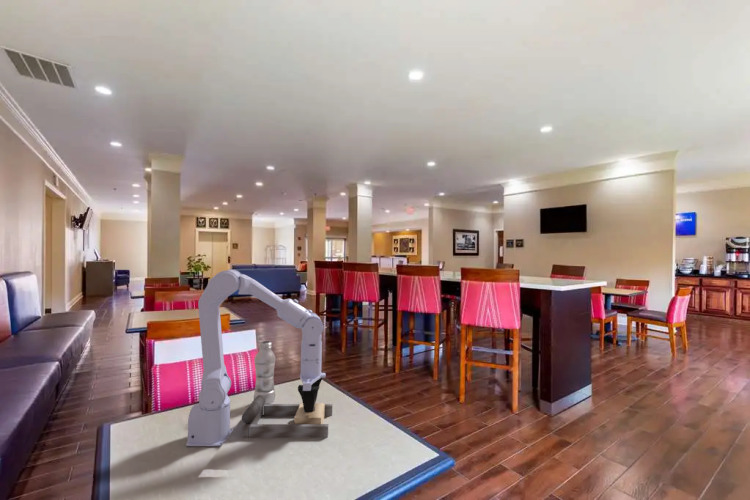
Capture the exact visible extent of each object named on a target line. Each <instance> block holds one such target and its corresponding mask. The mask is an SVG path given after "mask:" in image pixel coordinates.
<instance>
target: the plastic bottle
mask: <svg viewBox="0 0 750 500" xmlns="http://www.w3.org/2000/svg"><path fill="white" fill-rule="evenodd" d="M272 345H273V344H272V341H270V340H262V341H260V342H259V347H258V349H259V351H258V352H257V353H256V354H255V356H254V361H253V362H254V367H255V387H254V393H253V400H254V399H255V398H256V397H257V396H258V395H262V396H264V397H265V399H266V402H265V404H274V402H275V399H276V389H275V381H274V378H275V375H274V374H275V366H276V360H277V359H276V358H277V357H276V354H275V353H274V351H273V350H272V348H273V346H272ZM265 404H264V405H265ZM264 405H263V406H264Z"/></svg>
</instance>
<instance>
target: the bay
mask: <svg viewBox="0 0 750 500" xmlns="http://www.w3.org/2000/svg"><path fill="white" fill-rule="evenodd" d="M265 402H266V399H265V397H264V396H262V395H258V396H257V397H256V398H255V399H254V398H253V401H251V403H250V404H249V406H248V407H247V408H246V409H245V410H244V412H243V414H242V415H241V420H242V424H243V423H244V425H243V432H242V433H243V435H242V437H243V438H244V439H245V438H247V439H254V438H255V439H256V438H257V439H258V438H259V439H260V438H262V439H265V438H266V439H267V438H270V439H271V438H272V439H274V438H275V439H277V438H280V439H281V438H283V439H284V438H285V439H286V438H288V439H289V438H290V439H291V438H294V439H298V438H306V439H307V438H310V439H311V438H318V439H319V438H324V439H325V438H329V423H328V424H327V423H325V424H324V423H323V424H294V423H293V424H292V423H290V424H288V423H286V424H285V423H282V424H281V423H277V424H274V423H273V424H271V423H269V424H267V423H266V424H265V423H259V421H260V420H261V418H262V416H263V417H265V416H267V417H268V416H269V417H272V416H273V417H282V416H283V417H287V416H288V417H293V416H294V417H295V415H296V413H297V410H298V408H299V406H300V403H296V404H295V403H288V404H287V403H283V404H282V403H270V404H265ZM264 404H265V405H264ZM328 416H329V417H330V416H332V417H333V404H332V403H327V404H326V403H325V411H324V417H328ZM258 423H259V424H258Z"/></svg>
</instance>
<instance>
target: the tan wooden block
mask: <svg viewBox="0 0 750 500" xmlns="http://www.w3.org/2000/svg"><path fill="white" fill-rule="evenodd" d="M299 404H300V406H299V408H298V410H297V413H296V415H295V416H294V420H293V422H294V423H293V424H324V421H325V416H324V411H325V404H326V403H323V402H321V403H316V402H315V403H314V408H313V412H305V411H304V407H303V402H302V403H299Z"/></svg>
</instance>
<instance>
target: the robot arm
mask: <svg viewBox="0 0 750 500" xmlns="http://www.w3.org/2000/svg"><path fill="white" fill-rule="evenodd" d="M237 291H238V292H237ZM236 292H237V294H238V295H250V296H252V297H254V298H256V299H258V300H260V301H261V302H262V303H265V304H267V305H268V306H270V307H271V308H273V309H275V310H276V313H277V314H276V315H277V317H278V318H280V319H281V320H282V321H285V322H286V323H287V324H289V325H291V326H292V327H294V328H295V329H300V330H301V333H302V335H301V336H302V337H301V338H302V340H301V342H300V372H299V379H300V380H301V382H302V384H299V385H298V387H297V391H298V393H299V396H300V398H301V400H302V403H303V407H304V411H305V412H313V408H314V403H316V402H317V398H318V392H319V390H320V384H321V382H322V380H323V379H324V378H326V372H322V364H323V363H322V359H323V355H322V354H323V341H322V337H323V335H322V334H323V332H324V329H325V327H324V324H323V321H322V320H321V317H320V316H319V315H318V314H317V313H315V312H313V310H311V309H307V308H305V307H304V306H302V305H301V304H299V300H297V299H296V298H294V299H292V298H286V299H283V298H281V297H280V296H279V295H277V294H276V293H275V292H272V291H271V290H270V289H268V288H267V287H265V286H264V285H263V284H262V283H260V282H259V281H257V280H256V279H254V278H252V277H250V276H248V275H246V274H244V273H241V272H240V271H238V270H237V269H233V268H231V269H230V268H229V269H227V270H222V271H220V272H217V274H215V275H214V276H212V277H211V278H210V279H209V280H208V283H207V285H206V287H205V288H204V291H203V292H202V294H201V295H200V298H199V299H198V303H197V304H198V319H199V328H200V329H199V331H200V343H201V355H202V356H201V357H202V365H203V367H202V369H203V371H202V372H203V373H202V376H201V389H200V392H199V394H198V403H195V404H193V406H192V407H191V408H190V410H189V414H188V418H187V419H188V421H187V442H186V444H185V446H186V447H222V445H224V443H225V442H226V441H227V439H228V438H229V436H230V435H231V434H232V432H233V431H234V430H235V429H234V428H231V425H230V424H231V398H230V397H229V395H228V393H229V391H230V389H231V388H232V380H231V378H230V376H229V375H228V372H227V367H226V364H225V359H224V358H225V357H224V345H223V332H222V321H221V309H220V308H221V307H220V306H221V304H223V303H224V302H225V301H226V300H227V298H228V297H229V296H231V295H232V294H234V293H236Z"/></svg>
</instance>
